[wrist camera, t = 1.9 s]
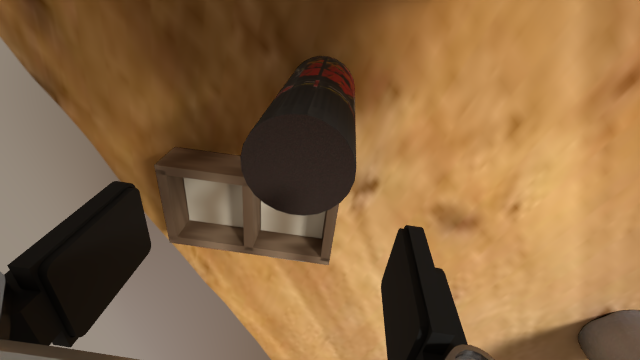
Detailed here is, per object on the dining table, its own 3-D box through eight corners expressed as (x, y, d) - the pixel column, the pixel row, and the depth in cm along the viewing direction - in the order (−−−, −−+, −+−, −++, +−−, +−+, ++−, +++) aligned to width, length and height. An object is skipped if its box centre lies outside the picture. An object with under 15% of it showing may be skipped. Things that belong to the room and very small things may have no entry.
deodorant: (362, 110, 29) (369, 202, 17) (303, 128, 31) (268, 225, 18) (343, 46, 27) (334, 96, 14) (280, 69, 28) (219, 133, 15)
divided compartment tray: (342, 169, 33) (341, 190, 29) (330, 242, 38) (328, 267, 35) (174, 147, 33) (154, 164, 30) (186, 222, 39) (170, 244, 35)
